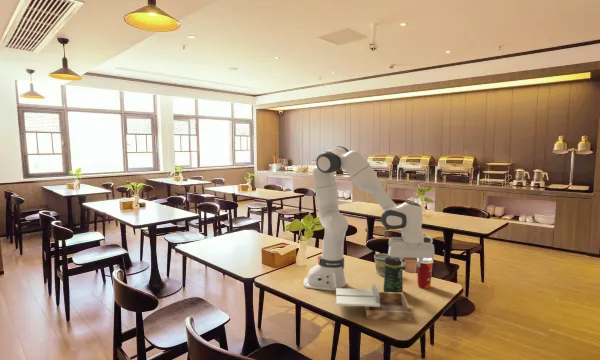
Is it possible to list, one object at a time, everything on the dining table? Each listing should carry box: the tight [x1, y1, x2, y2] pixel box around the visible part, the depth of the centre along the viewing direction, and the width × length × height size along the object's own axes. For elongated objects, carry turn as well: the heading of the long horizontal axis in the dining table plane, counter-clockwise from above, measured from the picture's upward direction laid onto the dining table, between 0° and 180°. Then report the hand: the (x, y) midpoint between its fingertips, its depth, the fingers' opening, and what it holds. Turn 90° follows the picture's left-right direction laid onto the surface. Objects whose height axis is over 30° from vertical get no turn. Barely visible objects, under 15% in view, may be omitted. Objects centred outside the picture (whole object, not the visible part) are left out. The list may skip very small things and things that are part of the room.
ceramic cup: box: [373, 253, 389, 277], centre depth 192 cm, size 13×10×10 cm
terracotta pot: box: [403, 258, 418, 274], centre depth 156 cm, size 6×6×6 cm
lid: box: [335, 284, 380, 307], centre depth 150 cm, size 18×15×4 cm
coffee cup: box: [416, 258, 434, 290], centre depth 174 cm, size 8×8×15 cm
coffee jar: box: [383, 256, 405, 293], centre depth 168 cm, size 10×8×19 cm
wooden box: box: [363, 291, 412, 322], centre depth 149 cm, size 18×16×5 cm
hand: (410, 266), depth 156 cm, fingers closed on terracotta pot, 5 cm apart
